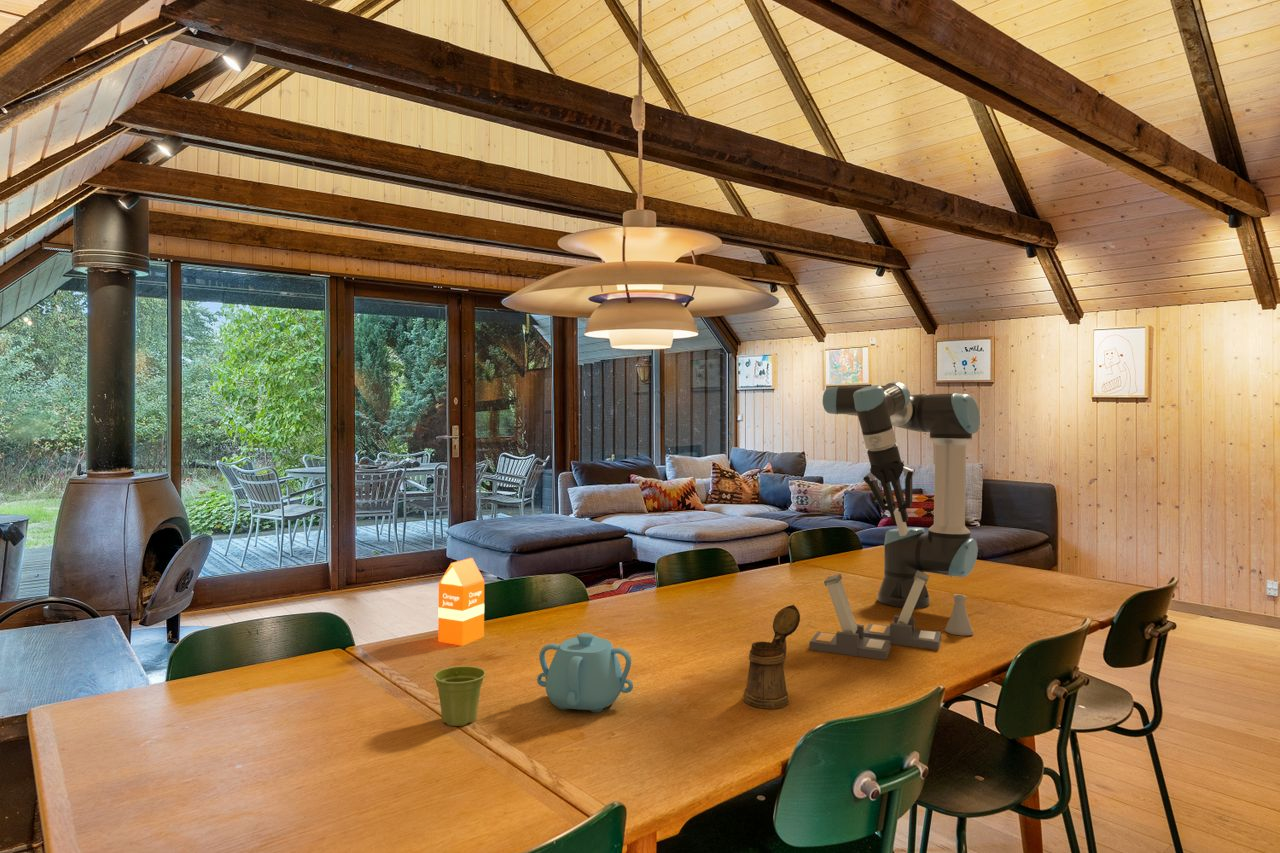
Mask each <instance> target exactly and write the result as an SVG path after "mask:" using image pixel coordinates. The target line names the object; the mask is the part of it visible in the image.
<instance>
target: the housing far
mask: <svg viewBox="0 0 1280 853" xmlns="http://www.w3.org/2000/svg"><path fill="white" fill-rule="evenodd" d="M899 617H900V615H896V614H894V616H893V622H890V624H889V625H888V624H887V625H886V624H885V625H884V624H879V623H876V624H875V623H871V622H870V623H868V625H867V626H866V627H865V628H864V637H867V638H874V639H882V640H890V641H891V645H893V644H896V645H895V646H901V645H903V646H904V647H909V646H912V647H911V648H917V647H919V649H925V648H927V649H926V650H933V649H934V650H933V651H939V650H940V645H941V640H942V632H941V631H936V630H926V629H918V628H915V622H916V620H915V616H911V617H910V619H909V622H908V624H907V625H905V624H897V621H898V619H899Z"/></svg>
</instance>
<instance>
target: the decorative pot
mask: <svg viewBox="0 0 1280 853" xmlns="http://www.w3.org/2000/svg"><path fill="white" fill-rule="evenodd" d="M576 636H577V637H570V638H567V639H565V640H564V641H562V642H561V643H560V644H557V643H548V644H546V645H544V646H543V647H542V648H541V650H540V651H539V654H538V655H539V657H538V658H539V663H540V666H541V669H542V672H540V673H539V674H538V675H537V678H536V682H537V685H539V686H540V687H543V688H545V691H546V692H545V693H546V695H547V697H548V699H549V700H550V702H551V703H552V705H554V706H556V707H557V709H559V710H564V711H565V710H569V709H570V710H578V711H579V710H580V711H581V710H582V711H590V712H592V713H601V712H603V711H604V708H608V707H610V705H612V704H613V703H614V702H616V700H617V699H618V697H619V696H620V694H621V693H623V694H628V693H630V692H632V691H633V688H634V683H633V681H632V680H631V679H629V678H628V679H627V677H628V675H629V673H630V670H631V666H632V656H631V654H630V653H629V652H628V651H627V650H626V649H624V648H622V647H614V646H613V643H612V642H611V641H610V640H609V639H606V638H601V637H599V636H597V635H594V634H593V633H590V632H581V633H578V634H576ZM548 650H556V652H555V654H554V656H553V658H552V660H551V663H550V665H549V666H548V663H547V660H546V652H547V651H548ZM618 655H620V656H622V657H624V659H625V666H624V670H623V671H622V667H621V664H620V660H619V657H618ZM543 677H545V678H544V679H545V680H543V679H542V678H543ZM625 684H627V685H628V687H626V686H625Z"/></svg>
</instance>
